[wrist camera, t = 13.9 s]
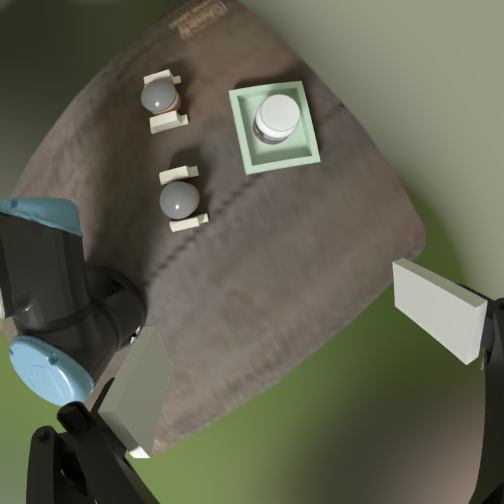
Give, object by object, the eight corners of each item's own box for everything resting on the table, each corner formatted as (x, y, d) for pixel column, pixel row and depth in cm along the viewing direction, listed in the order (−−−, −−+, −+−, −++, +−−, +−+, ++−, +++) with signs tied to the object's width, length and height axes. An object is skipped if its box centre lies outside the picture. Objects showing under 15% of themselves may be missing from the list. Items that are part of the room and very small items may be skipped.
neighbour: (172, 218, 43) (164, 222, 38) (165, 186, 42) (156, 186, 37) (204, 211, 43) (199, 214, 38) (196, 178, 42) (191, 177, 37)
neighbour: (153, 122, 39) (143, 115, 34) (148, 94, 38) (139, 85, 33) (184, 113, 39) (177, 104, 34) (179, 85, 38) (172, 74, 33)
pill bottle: (253, 108, 39) (258, 87, 29) (290, 112, 39) (305, 93, 30) (250, 143, 40) (255, 130, 31) (288, 147, 41) (303, 136, 31)
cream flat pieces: (172, 229, 43) (166, 233, 39) (145, 87, 38) (137, 79, 34) (208, 220, 43) (206, 224, 39) (180, 76, 38) (175, 67, 34)
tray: (245, 175, 42) (246, 174, 39) (229, 96, 39) (228, 90, 36) (314, 163, 42) (320, 161, 39) (297, 87, 39) (301, 81, 36)
